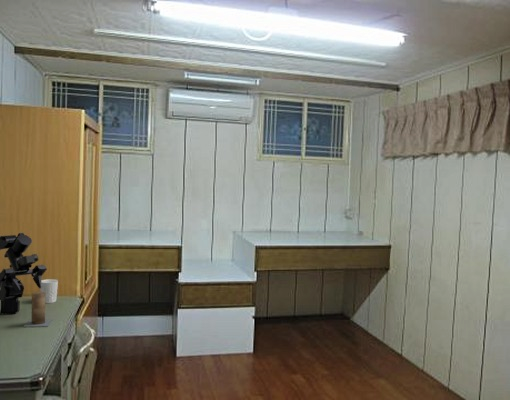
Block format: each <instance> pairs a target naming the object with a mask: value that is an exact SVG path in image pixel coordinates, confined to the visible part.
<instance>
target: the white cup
mask: <svg viewBox="0 0 510 400" xmlns="http://www.w3.org/2000/svg"><path fill="white" fill-rule="evenodd" d="M58 285H59V280H58V279H55V278H53V279H51V278H49V279H48V278H47V279H41V288H39V290H40V291H39V292H45V304H52V303H55V302H57V297H58V296H57V295H58V289H59V287H58Z"/></svg>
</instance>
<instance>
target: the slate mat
mask: <svg viewBox="0 0 510 400" xmlns="http://www.w3.org/2000/svg"><path fill="white" fill-rule="evenodd" d="M53 321H54V319H53V318H45V323H42V324H32V318H31V319H28V320H27V322H26V323H25V324H24V325H23V328H47V327H49V326H50V324H51V323H52V322H53Z"/></svg>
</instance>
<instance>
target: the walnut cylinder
mask: <svg viewBox="0 0 510 400" xmlns="http://www.w3.org/2000/svg"><path fill="white" fill-rule="evenodd" d="M31 319H32V324H42V323H45V319H46V303H45V292H40V291H37V292H32V293H31Z"/></svg>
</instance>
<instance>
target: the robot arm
mask: <svg viewBox="0 0 510 400" xmlns="http://www.w3.org/2000/svg"><path fill="white" fill-rule="evenodd" d="M32 241H33V240H32V238H31V236H28V235H27V234H26V235H25V233H24V232H18V234H17V235H16V234H10V235H0V251H1V250H6V249H7V250H6V251H5V254H4V258H7V259H8V261H9V264H10V265H9V268H3V269H2V270H1V271H0V315H15V314H17V313H18V312H19V311H20V308H21V305H20V303H21V302H20V300H19V299H20V298H22V297H23V295H24V291H25V286H24V284H23V282H22V281H21V279H18V278H17V276H28V275H31V277H32V280H33V281H34V283H35V285H36V286H37V287H38V289H40V288H41V281H42V277H43V275H44V274H45V272H46V271H47V270H48V268H47V266H46V265H45V264H39V265H35V266H34V267H33V268H31V267H32V264H33V265H34V264H35V263H36V262H38V261H39V257H38V256H39V255H37V253H32V254H31V255H24V254H23V253H26V251H27V250H28V248H29V247H30V245H31V244H32V243H33V242H32ZM30 268H31V269H30Z"/></svg>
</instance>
